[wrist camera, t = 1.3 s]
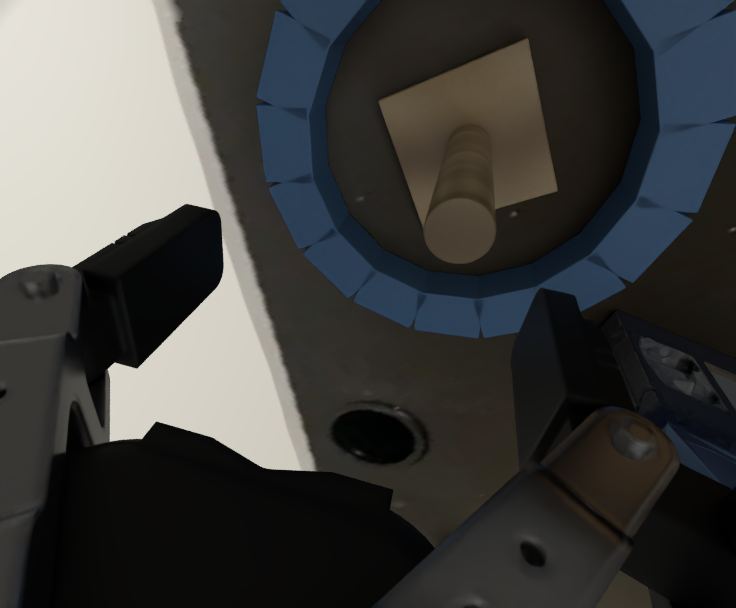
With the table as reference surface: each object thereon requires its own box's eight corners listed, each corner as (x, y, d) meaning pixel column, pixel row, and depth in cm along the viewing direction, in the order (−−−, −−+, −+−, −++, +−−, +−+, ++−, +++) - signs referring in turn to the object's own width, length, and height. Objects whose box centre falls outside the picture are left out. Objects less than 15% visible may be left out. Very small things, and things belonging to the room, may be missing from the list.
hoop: (209, 13, 24) (178, 12, 22) (698, -281, 16) (738, -337, 13) (364, 337, 34) (355, 361, 32) (715, 266, 26) (739, 292, 23)
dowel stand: (380, 98, 25) (305, 157, 14) (526, 36, 22) (566, 54, 11) (424, 225, 28) (390, 346, 18) (556, 187, 25) (607, 305, 15)
